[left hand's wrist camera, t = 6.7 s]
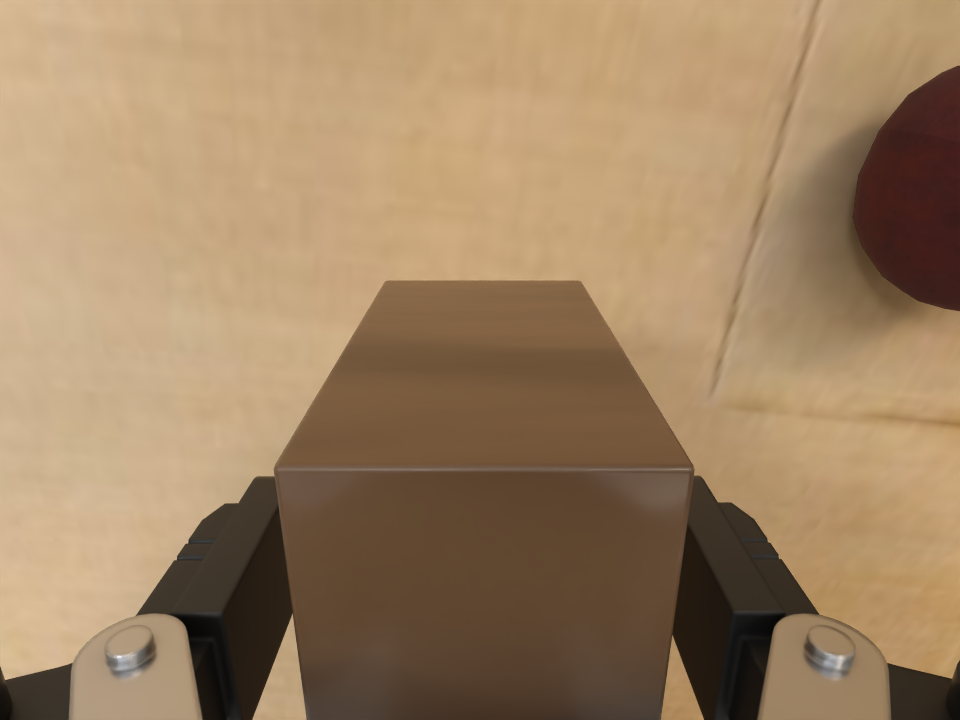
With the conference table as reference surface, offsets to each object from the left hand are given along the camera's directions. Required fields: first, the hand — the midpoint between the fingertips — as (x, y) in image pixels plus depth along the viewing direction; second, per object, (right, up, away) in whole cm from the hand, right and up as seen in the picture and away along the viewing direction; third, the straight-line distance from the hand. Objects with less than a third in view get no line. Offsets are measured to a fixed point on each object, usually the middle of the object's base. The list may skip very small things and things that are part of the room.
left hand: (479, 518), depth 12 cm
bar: (0, -6, +7) cm, 9 cm away
